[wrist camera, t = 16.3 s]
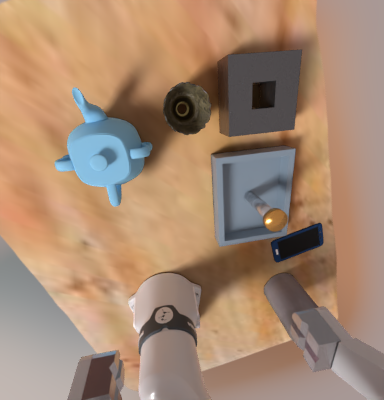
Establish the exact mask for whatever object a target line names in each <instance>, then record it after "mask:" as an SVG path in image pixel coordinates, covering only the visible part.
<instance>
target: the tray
mask: <svg viewBox="0 0 384 400" xmlns="http://www.w3.org/2000/svg"><path fill="white" fill-rule="evenodd" d="M295 150H296V149H295V148H292V147H288V146H285V145H283V146H275V147H267V148H259V149H250V150H242V151H234V152H225V153H217V154H211V166H212V186H213V205H214V225H215V238H216V240H217V242H218V244H219V247H221V246H227V245H233V244H239V243H244V242H250V241H256V240H262V239H268V238H274V237H280V236H286V235H287V227H288V222H287V224H286V226H285V227H284V228H283V229H281V230H280V231H276V232H273V231H270V230H268V229H267V228H266V227H265V225H264V224H263V217H262V216H261V215H260V214H259V213H258V212H257V211H256V210H255V209H254V208H253V207H252V206H251V205H250V204H249V203H248V202H247V201H246V200H245V198H244V195H245V193H246V192H247V191H253V192H254V193H255V194H256V195H257V196H259V197H260V198H261V199H262V200H263V201H265V202H266V203H267V204H268V205H269V206H270V207H272V208H279V209H281V210H282V211H284V212H285V213H286V214H287V216H288V217H289V208H290V198H291V188H292V179H293V169H294V160H295Z"/></svg>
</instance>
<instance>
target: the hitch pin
mask: <svg viewBox="0 0 384 400" xmlns="http://www.w3.org/2000/svg"><path fill="white" fill-rule="evenodd" d="M244 198H245V200H246V201H247V202H248V203H249V204H250V205H251V206H252V207H253V208H254V209H255V210H256V211H257V212H258V213H259V214H260V215H261V216H262V217H263V224H264V225H265V227H266V228H267V229H268V230H270V231H273V232H276V231H280V230H281V229H283V228H284V227H285V226H286V224H287V222H288V216H287V214H286V213H285V212H284V211H282V210H281V209H279V208H272V207H270V206H269V205H268V204H267V203H266V202H265V201H263V200H262V199H261V198H260V197H259V196H257V195H256V194H255V193H254V192H253V191H247V192H246V193H245V195H244Z"/></svg>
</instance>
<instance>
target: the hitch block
mask: <svg viewBox="0 0 384 400" xmlns="http://www.w3.org/2000/svg"><path fill="white" fill-rule="evenodd" d="M301 55H302V50H290V51H276V52H262V53H247V54H233V55H227V56H226V57H224V58H223V59H221V60H220V61H218V62H217V64H218V94H219V125H220V133H221V134H224V135H226V136H228V137H232V136H241V135H249V134H258V133H267V132H276V131H285V130H294V126H295V115H296V105H297V95H298V85H299V75H300V65H301ZM254 84H260V96H259V107H256V108H252V85H254Z"/></svg>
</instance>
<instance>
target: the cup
mask: <svg viewBox="0 0 384 400" xmlns="http://www.w3.org/2000/svg"><path fill="white" fill-rule="evenodd" d="M180 104H184V105H185V106H186V112H185V113H183V114H181V113H179V112H178V106H179V105H180ZM163 106H164V109H163V113H164V116H165V119H166V122H167V124H168V125H169V126H170V127H171V128H172V129H173V130H174V131H175V132H176V131H177V132H179V133H183V134H184V135H189V134H196V133H198V132H199V131H200V130H201V129H203V128H205V123H207V122H208V121H209V120H210V115H211V110H210V107H211V103H210V102H209V96H208V93H207V92H206V91H205V90H203V88H202V87H201V86H199V85H198V86H196V85H194V84H190V82H186V83H183V82H182V83H179V84H177V85H176V86H175V87H172V88H171V89H170V92H169V93H168V94H167V95H166V98H165V100H164V105H163Z"/></svg>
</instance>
